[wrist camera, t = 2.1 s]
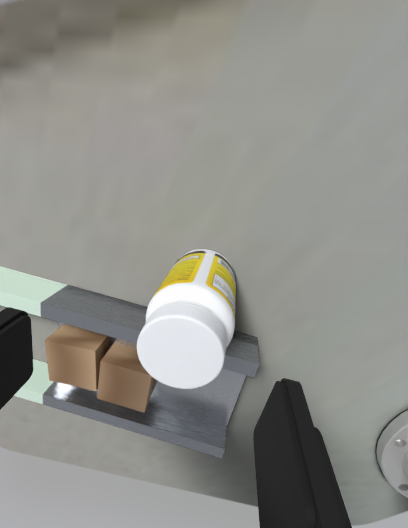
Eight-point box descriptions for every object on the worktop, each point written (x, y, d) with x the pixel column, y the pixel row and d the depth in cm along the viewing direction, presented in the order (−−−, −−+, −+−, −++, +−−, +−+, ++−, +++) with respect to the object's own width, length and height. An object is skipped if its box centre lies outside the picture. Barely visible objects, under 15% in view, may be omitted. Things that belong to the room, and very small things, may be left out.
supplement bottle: (167, 295, 20) (119, 377, 12) (180, 239, 18) (134, 293, 10) (225, 313, 20) (215, 408, 12) (245, 259, 18) (248, 328, 10)
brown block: (160, 355, 21) (151, 375, 19) (153, 390, 22) (144, 412, 20) (114, 342, 21) (100, 360, 19) (110, 377, 22) (97, 398, 20)
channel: (256, 337, 20) (259, 364, 17) (224, 424, 24) (221, 458, 21) (67, 284, 21) (40, 302, 18) (65, 377, 25) (42, 404, 22)
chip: (109, 333, 21) (95, 351, 19) (109, 370, 22) (96, 391, 20) (63, 323, 21) (44, 340, 19) (66, 361, 22) (49, 380, 20)
